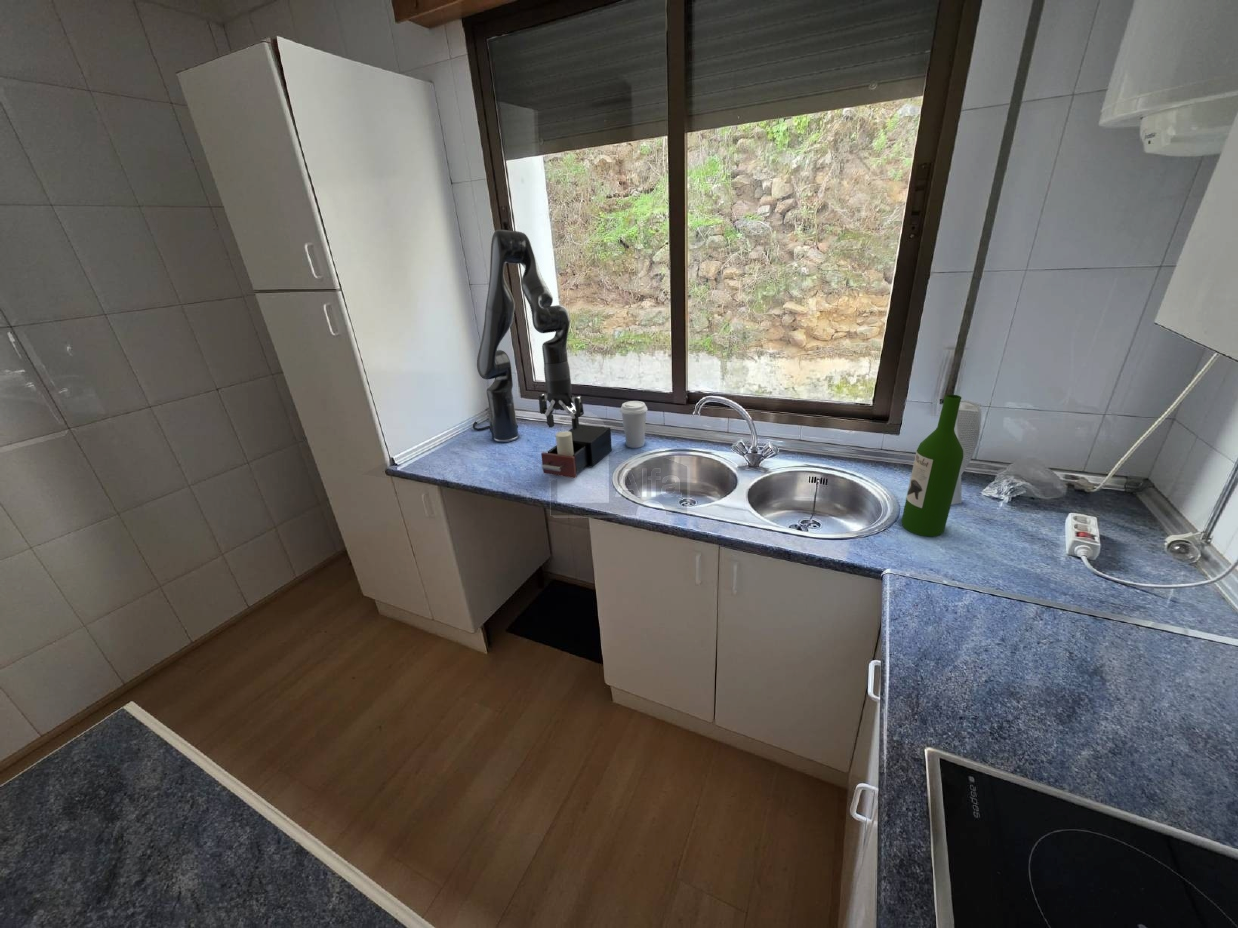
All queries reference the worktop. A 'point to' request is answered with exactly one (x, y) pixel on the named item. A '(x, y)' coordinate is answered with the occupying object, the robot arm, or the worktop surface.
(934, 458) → the wine bottle
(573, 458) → the drawer
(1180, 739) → the worktop surface
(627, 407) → the coffee cup
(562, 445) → the container
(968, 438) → the light grey vase
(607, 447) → the black sliding tray box
